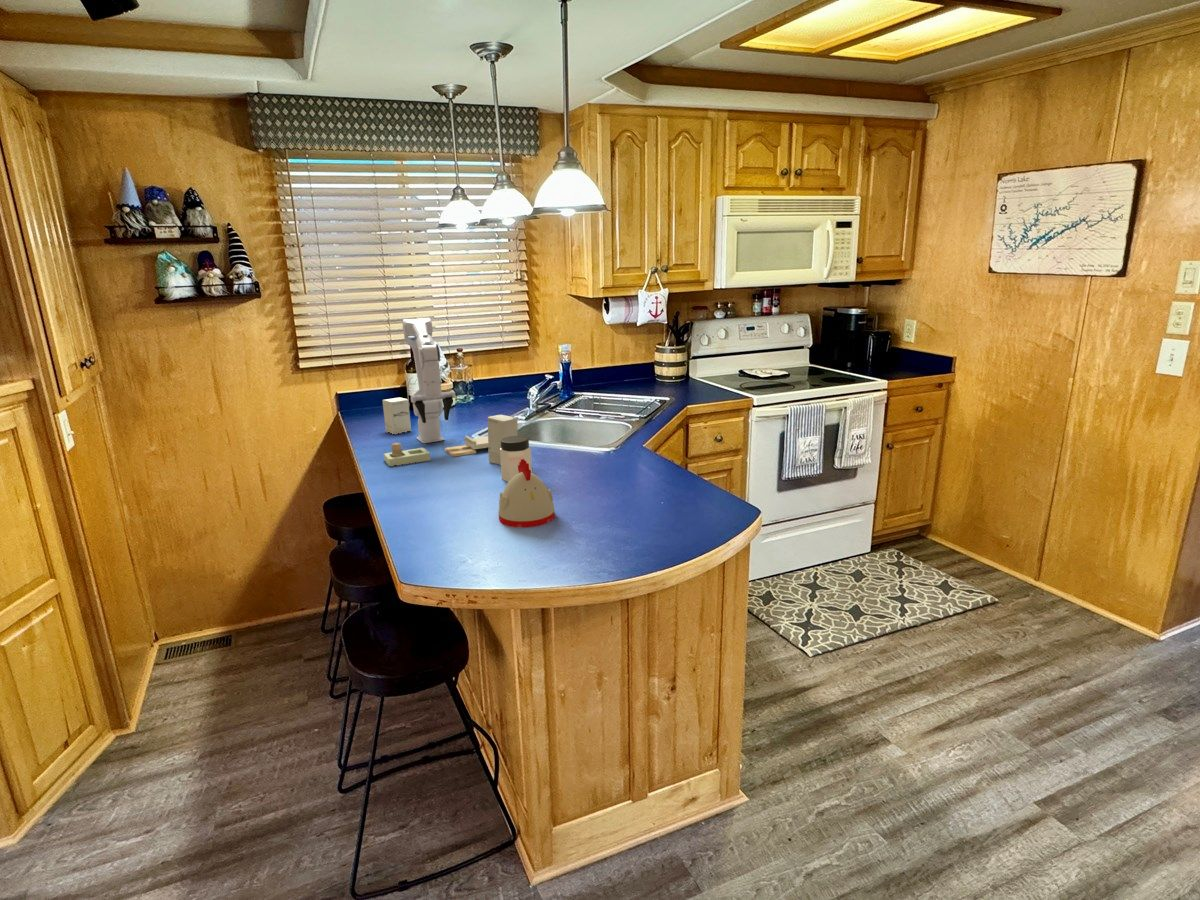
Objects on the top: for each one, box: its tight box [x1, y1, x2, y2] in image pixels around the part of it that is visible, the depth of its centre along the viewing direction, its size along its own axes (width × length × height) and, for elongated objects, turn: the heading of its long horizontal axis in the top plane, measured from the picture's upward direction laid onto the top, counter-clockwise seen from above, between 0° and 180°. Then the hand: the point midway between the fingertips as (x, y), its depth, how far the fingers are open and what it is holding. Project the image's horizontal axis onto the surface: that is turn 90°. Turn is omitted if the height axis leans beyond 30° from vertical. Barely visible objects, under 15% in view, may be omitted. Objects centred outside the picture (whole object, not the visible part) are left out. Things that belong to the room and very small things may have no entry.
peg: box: [391, 442, 403, 457], centre depth 225 cm, size 3×3×6 cm
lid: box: [464, 435, 488, 450], centre depth 238 cm, size 9×8×3 cm
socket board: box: [383, 447, 431, 467], centre depth 227 cm, size 8×13×2 cm, turn 119°
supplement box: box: [382, 396, 412, 435], centre depth 264 cm, size 7×7×13 cm
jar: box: [500, 435, 533, 483], centre depth 204 cm, size 9×8×12 cm
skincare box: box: [487, 414, 519, 466], centre depth 220 cm, size 8×6×15 cm
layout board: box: [444, 444, 477, 458], centre depth 235 cm, size 9×8×1 cm
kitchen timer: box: [498, 459, 555, 529], centre depth 172 cm, size 14×14×15 cm
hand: (435, 421), depth 235 cm, fingers open, 7 cm apart
